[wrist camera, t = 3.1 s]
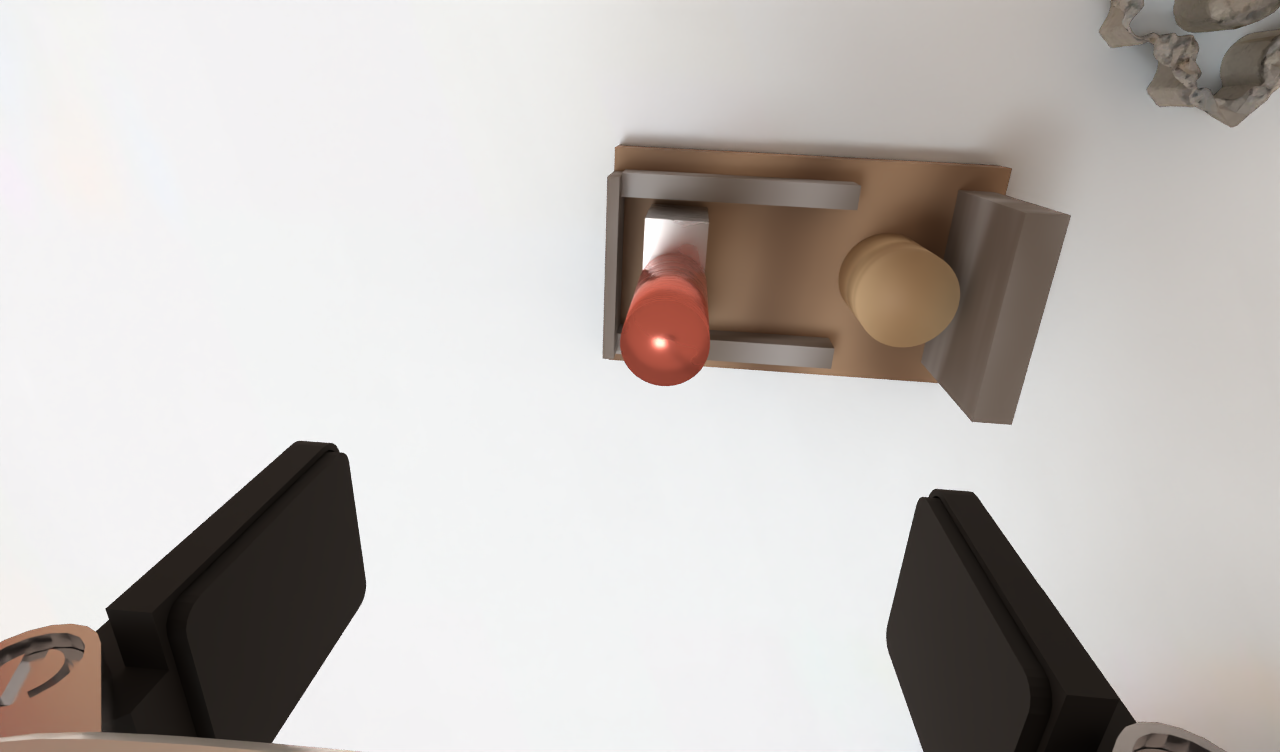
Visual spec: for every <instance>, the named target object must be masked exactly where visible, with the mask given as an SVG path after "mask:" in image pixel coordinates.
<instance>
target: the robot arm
mask: <svg viewBox="0 0 1280 752" xmlns="http://www.w3.org/2000/svg"><path fill="white" fill-rule="evenodd" d="M365 591H366V578H365V571H364V564H363V557H362V550H361V543H360V536H359V529H358V522H357V515H356V508H355V501H354V494H353V487H352V480H351V473H350V466H349V460H348V457H347V455H346V454H345V453H340V452H339V450H338V448H337V446H336V445H334V444H333V443H322V442H309V441H297V442H295V443H293V444H292V445H291V446H290V447H289V448H287V449H286V450H285V451H284V452H283V453H282V454H281V455H280V456H278V457H277V458H276V459H275V460H274V461H273V462H272V463H270V464H269V465H268V466H267V467H266V468H265V469H264V470H263V471H261V472H260V473H259V474H258V475H257V476H256V477H255V478H253V479H252V480H251V481H250V482H249V483H248V484H247V485H246V486H244V487H243V488H242V489H241V490H240V491H239V492H238V493H236V494H235V495H234V496H233V497H232V498H231V499H230V500H228V501H227V502H226V503H225V504H224V505H223V506H222V507H221V508H219V509H218V510H217V511H216V512H215V513H214V514H213V515H211V516H210V517H209V518H208V519H207V520H206V521H205V522H204V523H202V524H201V525H200V526H199V527H198V528H197V529H196V530H194V531H193V532H192V533H191V534H190V535H189V536H188V537H186V538H185V539H184V540H183V541H182V542H181V543H180V544H179V545H177V546H176V547H175V548H174V549H173V550H172V551H171V552H169V553H168V554H167V555H166V556H165V557H164V558H163V559H162V560H160V561H159V562H158V563H157V564H156V565H155V566H154V567H152V568H151V569H150V570H149V571H148V572H147V573H146V574H145V575H143V576H142V577H141V578H140V579H139V580H138V581H137V582H135V583H134V584H133V585H132V586H131V587H130V588H129V589H127V590H126V591H125V592H124V593H123V594H122V595H121V596H120V597H118V598H117V599H116V600H115V601H114V602H113V603H112V604H110V605H109V606H108V607H107V608H106V612H107V615H108V618H109V620H108V621H107V622H106V623H105V624H104V625H102V626H101V627H100V628H99V629H98V630H97V631H96V632H95V631H94V630H92V629H90V628H89V627H87V626H82V625H76V624H62V625H51V626H46V627H42V628H38V629H34V630H30V631H27V632H24V633H22V634H19V635H16V636H14V637H11V638H8V639H6V640H4V641H2V642H0V752H360V751H350V750H339V749H328V748H317V747H306V746H295V745H284V744H274V743H272V742H273V740H274V739H275V737H276V736H277V734H278V732H279V731H280V729H281V728H282V726H283V725H284V723H285V722H286V720H287V718H288V717H289V715H290V714H291V712H292V711H293V709H294V708H295V706H296V705H297V703H298V701H299V700H300V698H301V697H302V695H303V694H304V692H305V691H306V689H307V688H308V686H309V684H310V683H311V681H312V680H313V678H314V677H315V675H316V674H317V672H318V671H319V669H320V667H321V666H322V664H323V663H324V661H325V660H326V658H327V657H328V655H329V653H330V652H331V650H332V649H333V647H334V646H335V644H336V643H337V641H338V640H339V638H340V636H341V635H342V633H343V632H344V630H345V629H346V627H347V626H348V624H349V623H350V621H351V619H352V618H353V616H354V615H355V613H356V612H357V610H358V609H359V607H360V605H361V603H362V601H363V599H364V595H365ZM886 639H887V648H888V651H889V655H890V657H891V660H892V663H893V666H894V669H895V672H896V675H897V677H898V680H899V683H900V686H901V689H902V692H903V695H904V697H905V700H906V703H907V706H908V709H909V712H910V715H911V717H912V720H913V723H914V726H915V729H916V732H917V735H918V737H919V740H920V743H921V746H922V749H923V752H1226V751H1224V750H1223V749H1221V748H1219V747H1218V746H1216V745H1215V744H1213V743H1211V742H1210V741H1208V740H1206V739H1205V738H1202V737H1200V736H1198V735H1195V734H1193V733H1191V732H1188V731H1186V730H1184V729H1181V728H1178V727H1174V726H1170V725H1166V724H1162V723H1158V722H1138V723H1136V721H1135V720H1134V718H1133V717H1132V715H1131V714H1130V713H1129V711H1128V710H1127V708H1126V707H1125V706H1124V704H1123V703H1122V701H1121V700H1120V698H1119V697H1118V696H1117V694H1116V693H1115V691H1114V690H1113V688H1112V687H1111V686H1110V684H1109V683H1108V681H1107V680H1106V678H1105V677H1104V676H1103V674H1102V673H1101V671H1100V670H1099V669H1098V667H1097V666H1096V664H1095V663H1094V661H1093V660H1092V659H1091V657H1090V656H1089V654H1088V653H1087V651H1086V650H1085V649H1084V647H1083V646H1082V644H1081V643H1080V642H1079V640H1078V639H1077V637H1076V636H1075V634H1074V633H1073V632H1072V630H1071V629H1070V627H1069V626H1068V624H1067V623H1066V622H1065V620H1064V619H1063V617H1062V616H1061V615H1060V613H1059V612H1058V610H1057V609H1056V607H1055V606H1054V605H1053V603H1052V602H1051V600H1050V599H1049V597H1048V596H1047V595H1046V593H1045V592H1044V590H1043V589H1042V588H1041V587H1040V585H1039V584H1038V583H1037V581H1036V580H1035V578H1034V577H1033V575H1032V574H1031V573H1030V571H1029V570H1028V568H1027V567H1026V565H1025V564H1024V563H1023V561H1022V560H1021V558H1020V557H1019V556H1018V554H1017V553H1016V551H1015V550H1014V548H1013V547H1012V546H1011V544H1010V543H1009V541H1008V540H1007V538H1006V537H1005V536H1004V534H1003V533H1002V531H1001V530H1000V528H999V527H998V526H997V524H996V523H995V521H994V520H993V519H992V517H991V516H990V514H989V513H988V511H987V510H986V509H985V507H984V506H983V504H982V503H981V501H980V500H979V499H978V497H977V496H976V495H975V494H974V493H973V492H969V491H956V490H942V489H934V490H933V491H932V492H931V493H930V495H929V497H921V498H920V499H919V500H918V502H917V505H916V509H915V513H914V517H913V521H912V526H911V530H910V534H909V538H908V542H907V546H906V550H905V555H904V559H903V563H902V567H901V571H900V575H899V579H898V583H897V588H896V592H895V596H894V600H893V604H892V608H891V612H890V616H889V621H888V625H887V632H886Z"/></svg>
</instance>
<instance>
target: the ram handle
mask: <svg viewBox="0 0 1280 752" xmlns="http://www.w3.org/2000/svg"><path fill="white" fill-rule="evenodd" d="M708 227H709V217H708V207H695V206H678V205H660V204H651V206H650V209H649V211H648V213H647V215H646V217H645V232H644V253H643V271H642V272H641V275H640V278H639V281H638V284H637V287H636V290H635V293H634V296H633V299H632V302H631V305H630V308H629V311H628V314H627V317H626V320H625V323H624V326H623V329H622V332H621V337H620V349H621V354H622V357H623V359H624V361H625V363H626V365H627V366H628V368H629V369H630V370H631V371H632V372H633V373H634V374H635V375H636V376H637V377H639V378H640V379H642V380H644V381H645V382H648V383H651V384H654V385H660V386H672V385H677V384H681V383H683V382H686V381H687V380H689V379H691V378H692V377H694V376H695V375H696V374H697V373H698V372H699V371H700V370H701V369H702V367H703V366H704V364H705V362H706V360H707V358H708V355H709V350H710V333H709V313H708V293H707V280H706V276H705V263H706V251H707V239H708Z"/></svg>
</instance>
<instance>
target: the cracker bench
mask: <svg viewBox="0 0 1280 752" xmlns="http://www.w3.org/2000/svg"><path fill="white" fill-rule="evenodd" d="M1011 170H1012V168H1007V167H1002V166H997V165H979V164H960V163H941V162H922V161H904V160H885V159H866V158H847V157H829V156H810V155H791V154H772V153H754V152H735V151H716V150H697V149H678V148H660V147H641V146H622V145H618V146H617V147H615V167H614V172H613V173H611V174H610V175H609V176H608V177H607V213H606V251H605V289H604V327H603V358H604V359H609V360H622V361H624V359H623V357H622V354H621V349H620V337H621V332H622V329H623V326H624V323H625V320H626V317H627V314H628V311H629V308H630V305H631V302H632V299H633V296H634V293H635V290H636V287H637V284H638V281H639V278H640V275H641V272H642V271H643V253H644V232H645V217H646V215H647V213H648V211H649V209H650V206H651V204H660V205H678V206H695V207H708V217H709V227H708V239H707V251H706V263H705V276H706V280H707V293H708V313H709V333H710V350H709V355H708V358H707V360H706V362H705V364H704V366H706V367H720V368H734V369H749V370H763V371H777V372H791V373H805V374H819V375H833V376H847V377H861V378H875V379H889V380H903V381H917V382H931V383H939V384H940V385H941V386H942V387H943V388H944V390H945V391H946V392H947V393H948V394H949V396H950V397H951V398H952V399H953V400H954V401H955V403H956V404H957V405H958V406H959V407H960V408H961V410H962V411H963V412H964V413H965V414H966V415H967V417H968V418H969V419H970V420H971V421H972V422H982V423H996V424H1009V425H1012V421H1013V418H1014V414H1015V411H1016V407H1017V404H1018V400H1019V397H1020V393H1021V390H1022V386H1023V383H1024V379H1025V375H1026V372H1027V368H1028V365H1029V361H1030V358H1031V354H1032V351H1033V347H1034V344H1035V340H1036V337H1037V333H1038V330H1039V326H1040V323H1041V319H1042V316H1043V312H1044V308H1045V305H1046V301H1047V298H1048V294H1049V291H1050V287H1051V284H1052V280H1053V277H1054V273H1055V270H1056V266H1057V263H1058V259H1059V256H1060V252H1061V248H1062V245H1063V241H1064V238H1065V234H1066V231H1067V227H1068V224H1069V220H1070V217H1071V215H1068V214H1064V213H1061V212H1058V211H1055V210H1051V209H1048V208H1045V207H1041V206H1038V205H1035V204H1032V203H1028V202H1025V201H1022V200H1019V199H1015V198H1012V197H1009V196H1005V195H1006V191H1007V186H1008V182H1009V178H1010V174H1011ZM882 233H895V234H900V235H903V236H906V237H908V238H910V239H911V240H913V241H915V242H916V243H918V244H919V245H921V246H922V247H924V248H925V249H927V250H929V251H930V252H932V253H933V254H935V255H936V256H938V257H939V258H941V259H942V260H944V261H945V262H946V263H947V264H948V265H949V266H950V267H951V268H952V269H953V271H954V273H955V274H956V277H957V279H958V282H959V286H960V301H959V305H958V309H957V311H956V314H955V316H954V318H953V319H952V321H951V322H950V324H949V325H948V326H947V327H946V328H945V329H944V330H943V331H942V332H941V333H940V334H939V335H938V336H936V337H935V338H933V339H932V340H930V341H928V342H926V343H923V344H920V345H917V346H913V347H892V346H888V345H885V344H883V343H880V342H879V341H877V340H875V339H874V338H873V337H871V336H870V335H869V334H868V333H867V332H866V330H865V329H864V327H863V326H862V325H861V323H860V322H859V321H858V319H857V318H856V317H855V315H854V314H853V312H852V311H851V310H850V308H849V307H848V306H847V304H846V303H845V301H844V300H843V298H842V296H841V293H840V290H839V283H838V278H839V271H840V268H841V265H842V262H843V260H844V259H845V257H846V255H847V254H848V253H849V251H850V250H851V249H852V248H853V247H854V246H855V245H857V244H858V243H859V242H861V241H862V240H864V239H866V238H868V237H870V236H873V235H877V234H882Z"/></svg>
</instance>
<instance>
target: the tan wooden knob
mask: <svg viewBox="0 0 1280 752" xmlns="http://www.w3.org/2000/svg"><path fill="white" fill-rule="evenodd" d="M838 283H839V290H840V293H841V296H842V298H843V300H844V301H845V303H846V304H847V306H848V307H849V308H850V310H851V311H852V312H853V314H854V315H855V317H856V318H857V319H858V321H859V322H860V323H861V325H862V326H863V327H864V329H865V330H866V332H867V333H868V334H869V335H870V336H871V337H873V338H874V339H875V340H877V341H879V342H880V343H883V344H885V345H888V346H892V347H913V346H917V345H920V344H923V343H926V342H928V341H930V340H932V339H933V338H935V337H936V336H938V335H939V334H940V333H941V332H942V331H943V330H944V329H945V328H946V327H947V326H948V325H949V324H950V322H951V321H952V319H953V318H954V316H955V314H956V311H957V309H958V305H959V301H960V286H959V282H958V279H957V277H956V274H955V273H954V271H953V269H952V268H951V267H950V266H949V265H948V264H947V263H946V262H945V261H944V260H942V259H941V258H939V257H938V256H936V255H935V254H933V253H932V252H930V251H929V250H927V249H925V248H924V247H922V246H921V245H919V244H918V243H916V242H915V241H913V240H911V239H910V238H908V237H906V236H903V235H900V234H895V233H882V234H877V235H873V236H870V237H868V238H866V239H864V240H862V241H861V242H859V243H858V244H857V245H855V246H854V247H853V248H852V249H851V250H850V251H849V253H848V254H847V255H846V257H845V259H844V260H843V262H842V265H841V268H840V271H839V278H838Z"/></svg>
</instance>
